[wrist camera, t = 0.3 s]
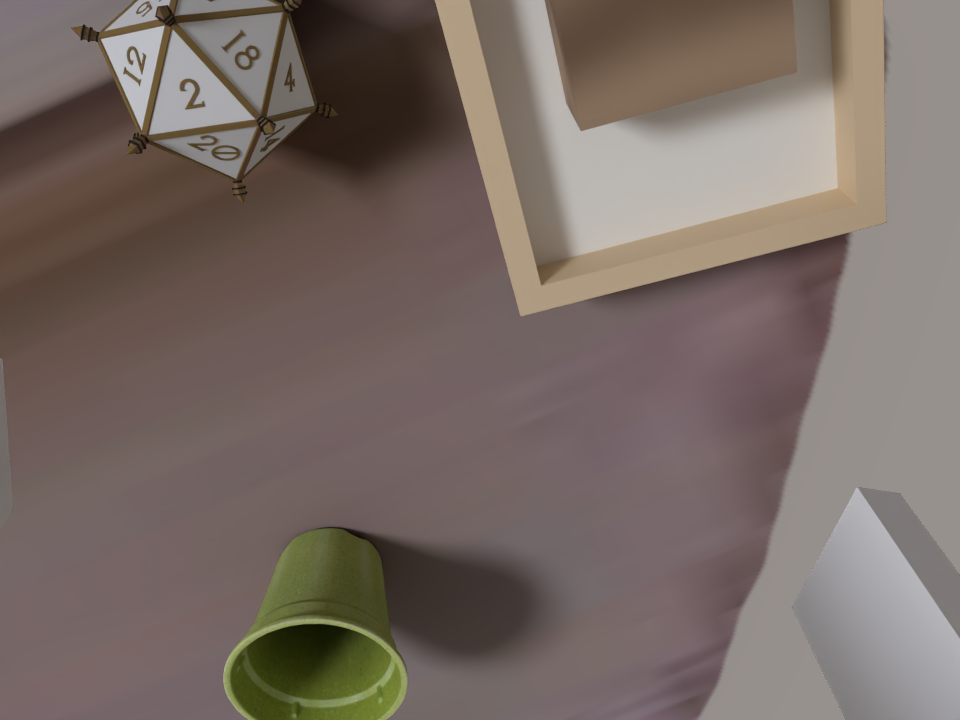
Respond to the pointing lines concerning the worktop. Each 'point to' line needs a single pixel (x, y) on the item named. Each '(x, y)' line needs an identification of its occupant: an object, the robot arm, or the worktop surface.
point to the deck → (668, 155)
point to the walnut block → (665, 52)
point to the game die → (210, 79)
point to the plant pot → (320, 638)
